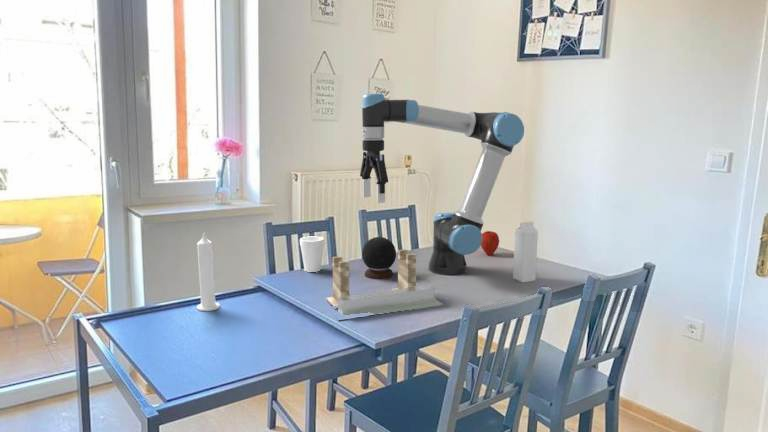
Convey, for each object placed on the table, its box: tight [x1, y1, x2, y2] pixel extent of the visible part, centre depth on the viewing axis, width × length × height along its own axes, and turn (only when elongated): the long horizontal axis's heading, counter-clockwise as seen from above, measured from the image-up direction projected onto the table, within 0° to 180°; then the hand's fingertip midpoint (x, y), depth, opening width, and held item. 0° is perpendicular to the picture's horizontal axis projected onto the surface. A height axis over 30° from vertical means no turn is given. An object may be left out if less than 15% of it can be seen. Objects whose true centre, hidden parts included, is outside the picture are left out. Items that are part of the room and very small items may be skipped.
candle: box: [196, 232, 221, 312], centre depth 184 cm, size 7×7×25 cm
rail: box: [337, 284, 436, 315], centre depth 184 cm, size 32×4×5 cm, turn 113°
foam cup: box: [299, 235, 325, 273], centre depth 226 cm, size 10×9×13 cm
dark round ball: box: [361, 236, 397, 280], centre depth 220 cm, size 13×13×15 cm
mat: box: [370, 297, 444, 314], centre depth 184 cm, size 36×8×1 cm, turn 113°
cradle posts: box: [325, 248, 417, 307], centre depth 193 cm, size 32×9×15 cm, turn 113°
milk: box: [512, 221, 539, 283], centre depth 214 cm, size 6×6×22 cm
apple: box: [480, 230, 500, 256], centre depth 250 cm, size 9×8×11 cm
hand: (373, 199), depth 202 cm, fingers open, 13 cm apart
